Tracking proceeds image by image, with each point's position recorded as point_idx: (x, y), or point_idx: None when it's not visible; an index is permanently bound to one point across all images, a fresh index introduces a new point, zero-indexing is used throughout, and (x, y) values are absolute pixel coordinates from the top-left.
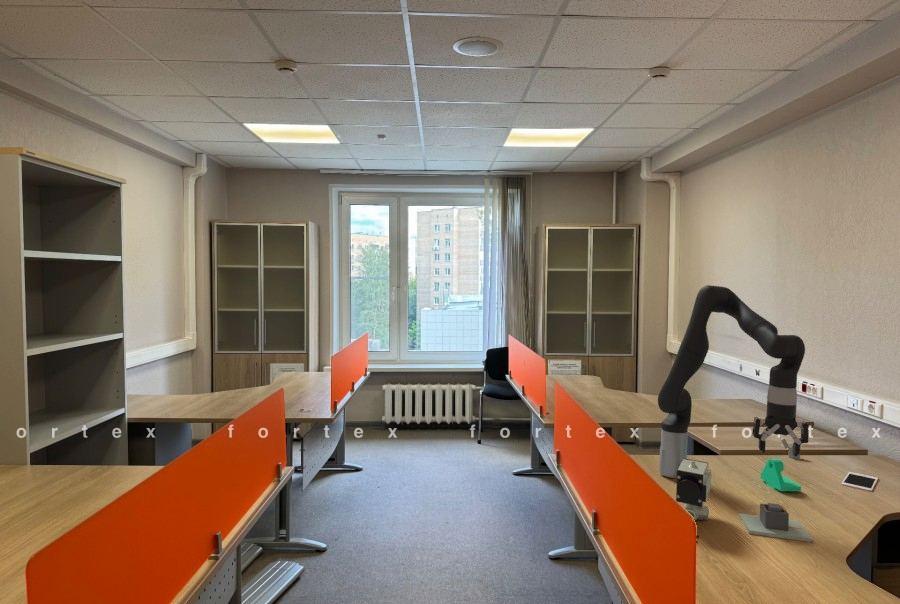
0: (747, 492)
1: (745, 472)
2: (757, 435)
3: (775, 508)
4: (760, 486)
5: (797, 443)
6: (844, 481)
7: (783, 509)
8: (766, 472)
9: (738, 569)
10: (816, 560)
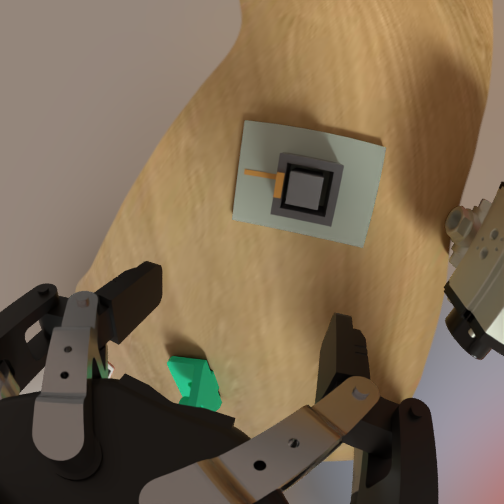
0: (272, 363)
1: (235, 421)
2: (409, 418)
3: (309, 174)
4: (233, 382)
5: (94, 298)
6: (109, 372)
7: (283, 177)
8: (211, 404)
9: (446, 14)
10: (280, 39)
